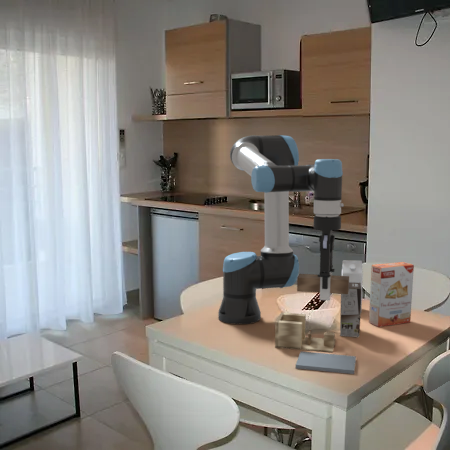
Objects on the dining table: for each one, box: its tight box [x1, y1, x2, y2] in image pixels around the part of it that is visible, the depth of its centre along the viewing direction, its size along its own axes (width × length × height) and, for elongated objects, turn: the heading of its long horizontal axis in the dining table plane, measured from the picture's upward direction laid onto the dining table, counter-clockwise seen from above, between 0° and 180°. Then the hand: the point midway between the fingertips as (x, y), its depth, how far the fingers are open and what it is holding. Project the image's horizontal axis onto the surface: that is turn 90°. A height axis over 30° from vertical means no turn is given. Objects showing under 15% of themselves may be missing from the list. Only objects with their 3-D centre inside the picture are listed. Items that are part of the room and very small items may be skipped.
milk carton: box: [341, 259, 364, 310], centre depth 219 cm, size 7×7×19 cm
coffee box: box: [339, 282, 362, 338], centre depth 194 cm, size 9×6×16 cm
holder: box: [274, 311, 336, 353], centre depth 184 cm, size 18×11×8 cm, turn 75°
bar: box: [296, 273, 349, 295], centre depth 166 cm, size 14×5×4 cm, turn 75°
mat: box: [295, 350, 357, 375], centre depth 168 cm, size 16×11×1 cm
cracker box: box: [368, 261, 415, 328], centre depth 204 cm, size 14×6×21 cm, turn 114°
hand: (325, 297), depth 166 cm, fingers closed on bar, 5 cm apart
